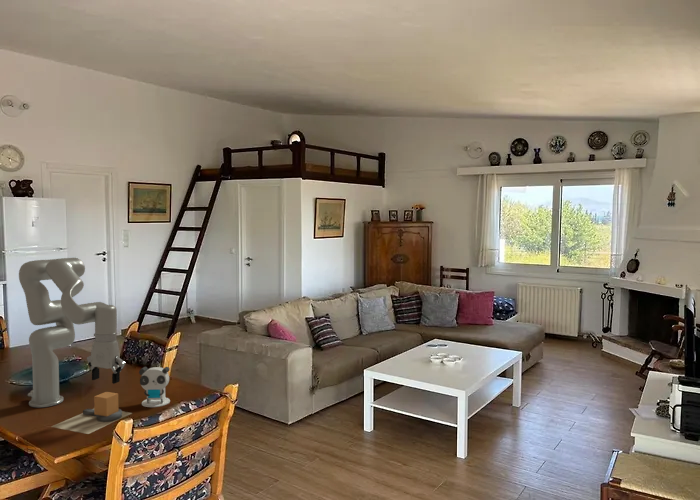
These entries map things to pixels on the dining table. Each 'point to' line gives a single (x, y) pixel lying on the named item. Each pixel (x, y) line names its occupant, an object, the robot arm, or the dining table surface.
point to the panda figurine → (154, 386)
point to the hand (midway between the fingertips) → (105, 380)
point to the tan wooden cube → (106, 404)
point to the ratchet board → (90, 421)
